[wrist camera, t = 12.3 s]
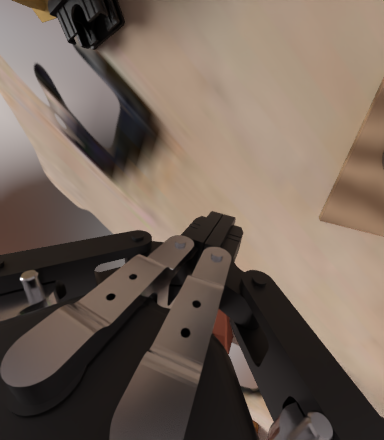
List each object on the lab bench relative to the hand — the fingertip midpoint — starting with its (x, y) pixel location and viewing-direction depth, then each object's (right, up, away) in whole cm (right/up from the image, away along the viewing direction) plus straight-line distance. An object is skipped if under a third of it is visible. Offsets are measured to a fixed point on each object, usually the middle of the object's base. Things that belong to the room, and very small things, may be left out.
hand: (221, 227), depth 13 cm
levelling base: (+33, +7, +16) cm, 38 cm away
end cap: (-18, +38, +25) cm, 49 cm away
